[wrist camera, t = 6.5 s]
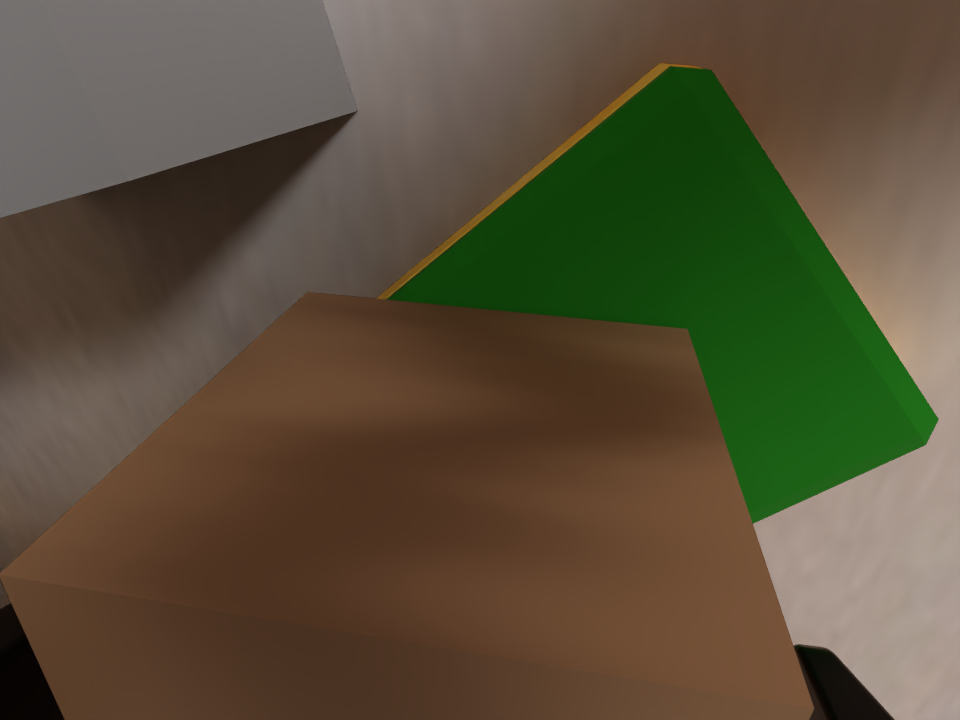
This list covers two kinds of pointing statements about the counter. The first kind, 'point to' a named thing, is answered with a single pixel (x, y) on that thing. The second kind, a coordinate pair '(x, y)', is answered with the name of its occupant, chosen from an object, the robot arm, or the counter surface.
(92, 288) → the counter surface
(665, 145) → the dish sponge
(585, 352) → the walnut block
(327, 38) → the slate block
